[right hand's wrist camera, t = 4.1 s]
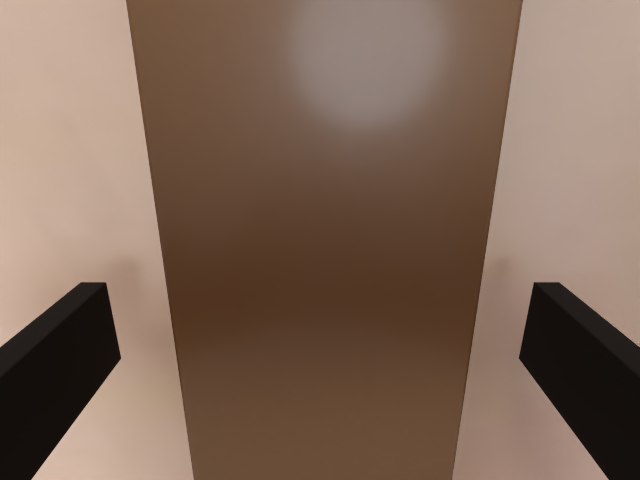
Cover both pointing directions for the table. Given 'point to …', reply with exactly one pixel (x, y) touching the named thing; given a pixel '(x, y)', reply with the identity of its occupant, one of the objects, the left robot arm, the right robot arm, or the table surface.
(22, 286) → the table surface
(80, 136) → the table surface
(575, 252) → the table surface
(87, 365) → the right robot arm
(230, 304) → the bar
